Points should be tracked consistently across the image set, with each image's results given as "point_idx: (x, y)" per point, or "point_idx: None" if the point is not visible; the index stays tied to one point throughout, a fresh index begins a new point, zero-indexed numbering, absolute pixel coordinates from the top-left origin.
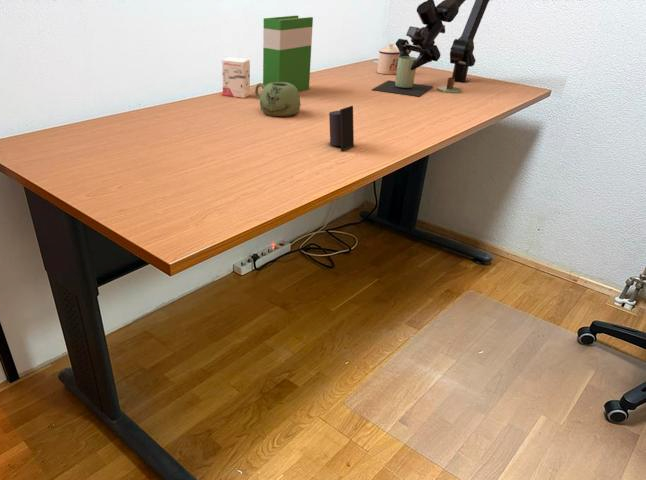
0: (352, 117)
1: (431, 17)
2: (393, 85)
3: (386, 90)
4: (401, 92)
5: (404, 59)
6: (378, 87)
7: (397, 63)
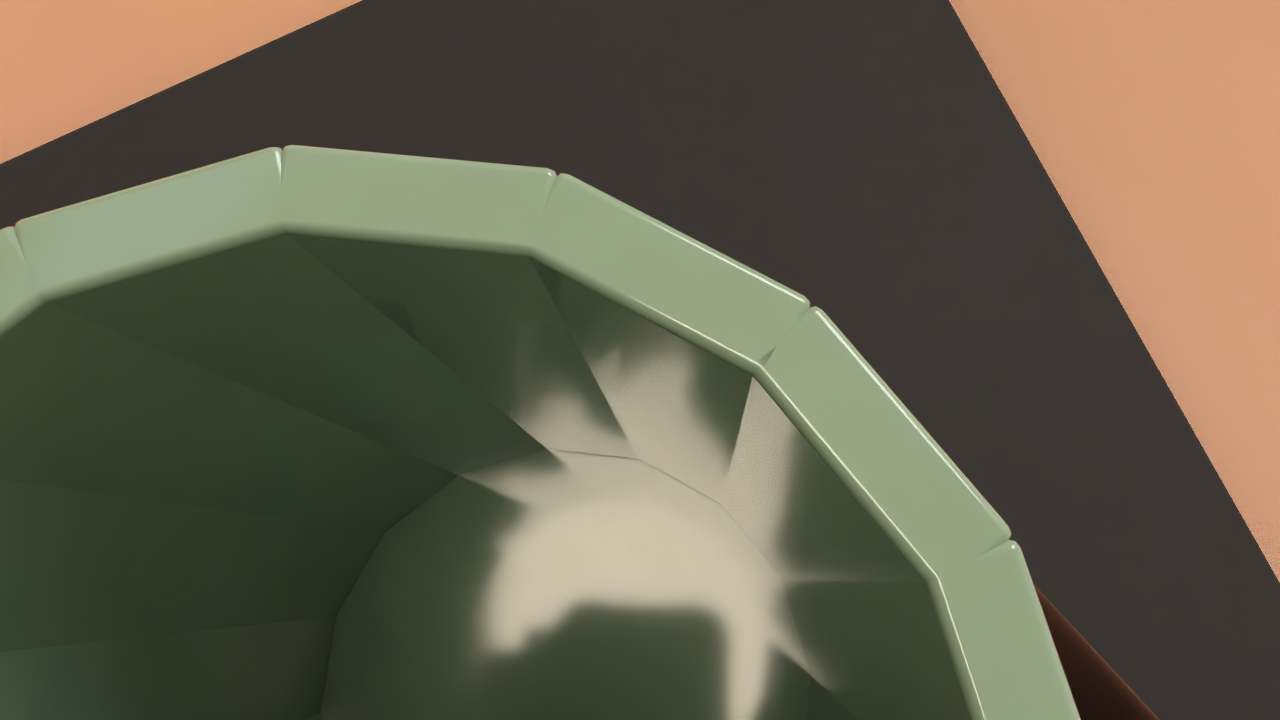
0: None
1: None
2: None
3: (565, 7)
4: None
5: (117, 198)
6: (914, 65)
7: None
